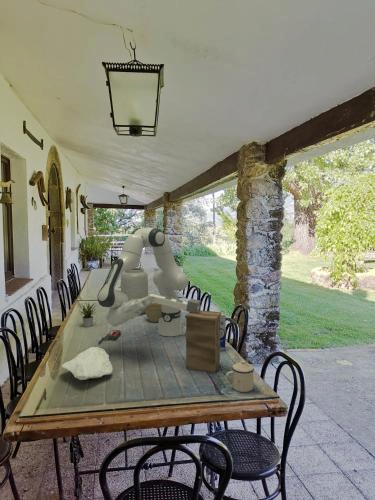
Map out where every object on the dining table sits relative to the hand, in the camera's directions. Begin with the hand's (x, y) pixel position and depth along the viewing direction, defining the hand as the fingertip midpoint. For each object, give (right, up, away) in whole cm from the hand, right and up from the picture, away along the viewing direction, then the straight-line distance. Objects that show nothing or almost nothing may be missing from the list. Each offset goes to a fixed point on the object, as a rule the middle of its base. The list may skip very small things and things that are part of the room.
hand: (154, 296), depth 186 cm
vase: (-23, -24, +90) cm, 96 cm away
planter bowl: (-5, -26, +70) cm, 75 cm away
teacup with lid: (+39, -35, -30) cm, 60 cm away
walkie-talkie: (-30, -30, +32) cm, 53 cm away
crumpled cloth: (-30, -34, -15) cm, 47 cm away
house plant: (-48, -27, +57) cm, 80 cm away
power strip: (+9, -4, -3) cm, 10 cm away
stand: (+24, -33, -8) cm, 41 cm away
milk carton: (+33, -31, +16) cm, 48 cm away
